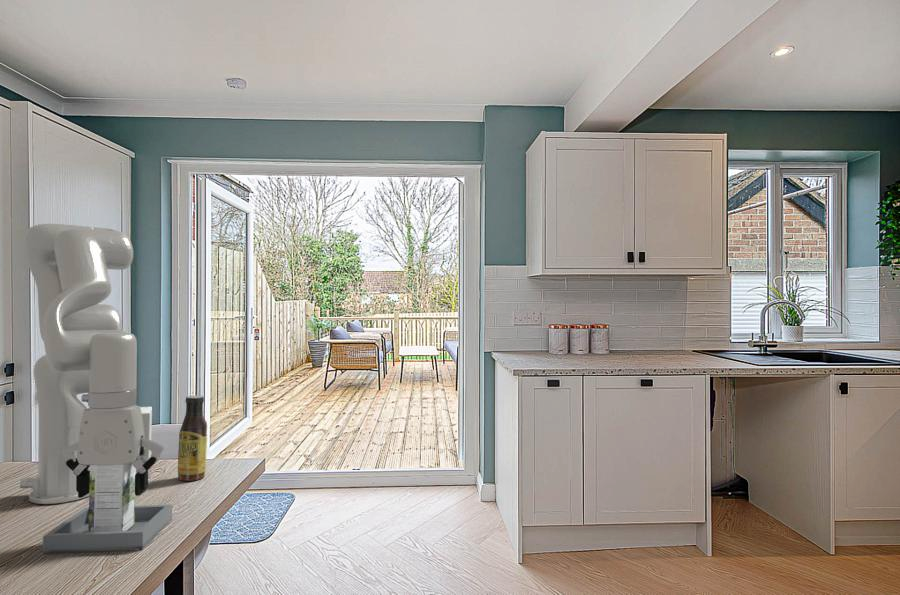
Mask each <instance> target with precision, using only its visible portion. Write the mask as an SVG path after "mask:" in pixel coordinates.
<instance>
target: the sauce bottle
mask: <svg viewBox="0 0 900 595" xmlns="http://www.w3.org/2000/svg"><path fill="white" fill-rule="evenodd" d="M204 402H205V398H204V396H203V395H199V394H198V395H195V394H193V395H188V396H186V397H185V404H186V405H185V406H186V407H185V415H184V419H183V421H182V424H181V427H180V430H179V434H178V436H179V437H178V453H177V454H178V456H177V457H178V458H177V478H178V479H179V480H180V481H183V482H195V481H198V480H201V479H203V478H205V475H206V471H207V469H206V468H207V452H208V451H207V450H208V449H207V448H208V447H207V444H208V434H207V433H208V424H207V420H206V419H205V417H204V415H203V414H204V411H203V409H204ZM194 480H195V481H194Z"/></svg>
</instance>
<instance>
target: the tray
mask: <svg viewBox="0 0 900 595" xmlns="http://www.w3.org/2000/svg"><path fill="white" fill-rule="evenodd" d="M172 521H173V504H149V505H135V524H134V526H133V527H131V528H130V529H129V530H128V531H106V532H88V526H89V506H88V507H84V508H83V509H81V510H79V511H78V512H77V513H75V514H74V515H72V516H70V517H69V518H67V519H66V520H64V521H63V522H62V523H61V524H59V525H57V526H55V528H53V529H52V530H50V531H49V532H47V533H46V534H44V535H42V554H43V555H52V554H78V553H97V552H101V553H102V552H120V551H121V552H122V551H124V552H125V551H140V550H141V551H143V550H144V549H145V548H146V547H147V546H149V544H150V543H151V542H152V541H153V540H154V539H155V538H156V537H157V536H158V535H159V534H160V533H161V532H163V530H164V529H165V528H166V526H168V525H169V524H170V523H171V522H172Z"/></svg>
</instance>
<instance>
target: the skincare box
mask: <svg viewBox="0 0 900 595" xmlns="http://www.w3.org/2000/svg"><path fill="white" fill-rule="evenodd" d="M140 409H141V413H142V418H143V424H144V433H145V438H146V439H149V440H151V441H152V432H153V431H152V428H153V427H152V424H153V423H152V422H153V419H152V418H153V410H152V409H153V407H152V406H140ZM151 455H152V451H150V450H148V449H146V448H145V454H144V458H145V459H146V460H148V459H149V458H150V457H151ZM150 469H151V468H150ZM150 469H149V470H148V474H149V472H150ZM137 473H138V471H137V470H136V474H137Z"/></svg>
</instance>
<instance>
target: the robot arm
mask: <svg viewBox="0 0 900 595" xmlns="http://www.w3.org/2000/svg"><path fill="white" fill-rule="evenodd" d="M23 238H24V239H23V244H24V246H23V247H24V249H23V250H24V255H25V259H26V263H27V265H28V266H27V267H28V268H29V270H30V273H31V274H32V277H33V280H34V282H35V285H36V289H37V307H38V308H37V310H38V321H39V322H38V324H39V325H38V326H39V332H40V337H41V339H42V341H43V344H44V350H45V351H44V352H45V355H42V356H41V357H39V358H38V359H37V360H36V362H35V364H34V367H33V379H34V383H35V391H36V396H37V397H36V398H37V407H38V408H37V409H38V411H37V412H38V444H37V445H38V448H37V449H38V450H37V451H38V452H37V454H38V455H37V456H38V458H37V459H38V460H37V461H38V467H37V468H38V470H37V471H38V472H37V473H38V474H37V476H35V477H33V476H26V477H24V476H23V477H22V478H21V479H20V484H19V488H20V489H31V490H32V492H31V493H30V494H29V495H28V500H29V502H30V503H33V504H38V505H39V504H40V505H53V504H60V503H61V504H63V503H70V502H74V501H78V500H81V499H84V498H89V487H90V465H128V464H132V465H133V466H134V467H135V469H136V470H137V471H138V473H137V474H135V497H137V496H138V497H139V496H141V495H143V494H144V493H145V492H146V490H148V487H149V473H148V470H149V469H151V468H152V467H153V466H154V465H155V464H156V463H157V462H158V461H159V458H160V457H161V455H162V453H163V452H164V446H163V445H161V444H159V443H157V442H155V441H153V440H152V439H151V440H149V439H146V438H145V433H144V424H143V418H142V413H141V409H140V407H141V406H140V405H137V399H138V398H137V384H138V383H137V381H138V380H137V376H138V375H137V370H138V369H137V368H138V367H137V365H138V364H137V363H138V362H137V361H138V356H137V355H138V342H137V341H138V340H137V337H136V336H135V334H133V333H130V332H126V331H124V330H123V322H122V321H123V320H122V317H121V314H120V312H119V311H118V309H117V308H116V307H114V306H113V305H110V304H105V303H104V304H102V302H103V301H105V300H107V298H108V297H109V296H110V294H111V292H112V284H111V281H110V276H109V274H108V270H113V271H114V270H116V271H117V270H118V271H119V270H120V271H123V270H127V269H128V268H129V267H130V266H131V265H132V263H133V260H134V247H133V244H132V242H131V239H130V238H129V237H128V236H127V235H126V233H124V232H122V231H119V230H116V229H113V228H112V229H111V228H107V227H96V226H95V227H94V226H84V225H83V226H82V225H73V224H64V223H63V224H61V223H41V224H36V225H32V226H31V227H29V228H28V229H27V230H26V232H25V234H24V237H23ZM81 394H82V395H81ZM78 395H81V397H80V398H81V399H79V398H78ZM83 402H84V403H87V406H86V405H85V404H84V403H83ZM145 448H146V449H148V450H150V451H151V457H150V458H149V459H148V460H146V459H145V458H144V454H145ZM149 471H150V470H149Z"/></svg>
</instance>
